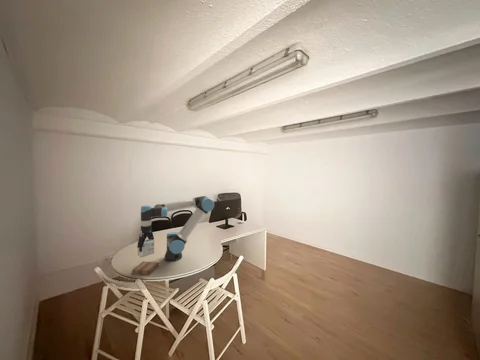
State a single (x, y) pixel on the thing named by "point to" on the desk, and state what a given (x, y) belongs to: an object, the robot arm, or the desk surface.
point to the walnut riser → (145, 268)
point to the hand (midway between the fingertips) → (146, 252)
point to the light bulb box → (147, 248)
